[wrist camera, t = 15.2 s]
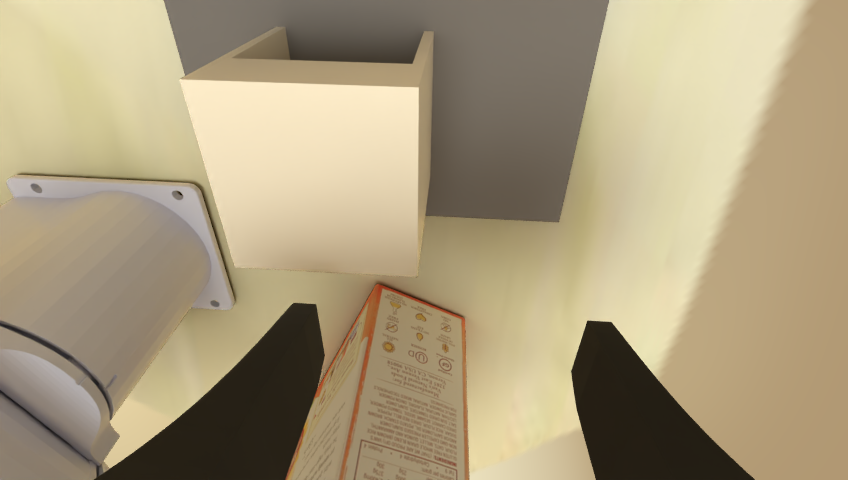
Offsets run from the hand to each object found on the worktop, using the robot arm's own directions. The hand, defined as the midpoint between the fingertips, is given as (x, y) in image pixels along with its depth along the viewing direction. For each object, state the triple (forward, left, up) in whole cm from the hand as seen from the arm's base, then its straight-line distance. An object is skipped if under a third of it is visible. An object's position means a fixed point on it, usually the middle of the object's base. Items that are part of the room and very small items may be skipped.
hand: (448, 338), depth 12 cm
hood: (-4, +3, -9) cm, 11 cm away
